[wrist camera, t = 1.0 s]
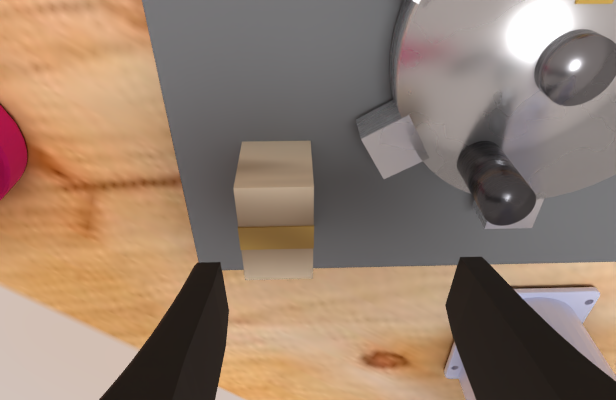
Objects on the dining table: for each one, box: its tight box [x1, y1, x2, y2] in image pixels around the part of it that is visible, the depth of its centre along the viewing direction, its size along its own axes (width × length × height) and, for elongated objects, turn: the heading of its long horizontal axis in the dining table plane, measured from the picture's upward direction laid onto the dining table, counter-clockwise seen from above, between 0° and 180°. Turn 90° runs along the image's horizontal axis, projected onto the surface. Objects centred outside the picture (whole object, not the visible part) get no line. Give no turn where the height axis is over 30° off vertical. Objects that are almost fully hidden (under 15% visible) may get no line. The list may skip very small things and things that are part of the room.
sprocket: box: [356, 0, 616, 229], centre depth 14 cm, size 16×14×5 cm
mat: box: [142, 0, 616, 270], centre depth 18 cm, size 20×24×1 cm
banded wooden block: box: [233, 141, 314, 280], centre depth 19 cm, size 5×3×4 cm, turn 0°
